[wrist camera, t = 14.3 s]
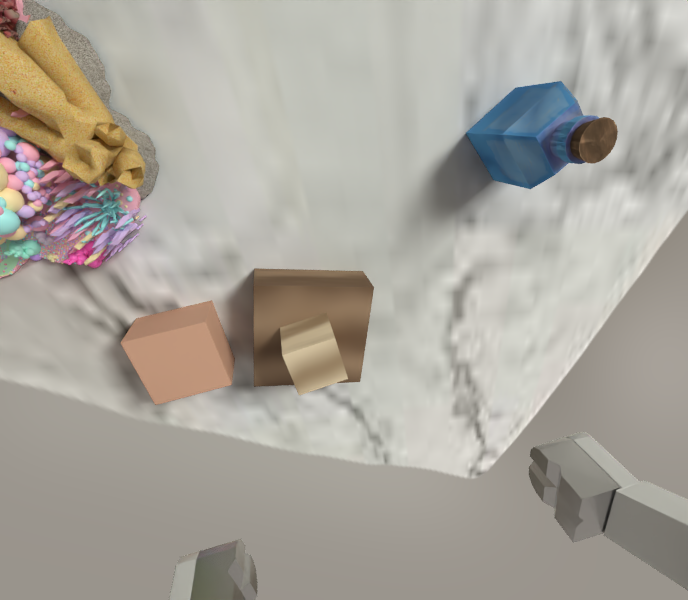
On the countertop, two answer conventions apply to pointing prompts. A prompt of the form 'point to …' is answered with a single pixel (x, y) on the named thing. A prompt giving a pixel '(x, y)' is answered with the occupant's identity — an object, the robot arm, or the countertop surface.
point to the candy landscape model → (63, 147)
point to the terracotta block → (180, 352)
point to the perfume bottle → (539, 135)
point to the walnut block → (309, 316)
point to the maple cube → (312, 354)
